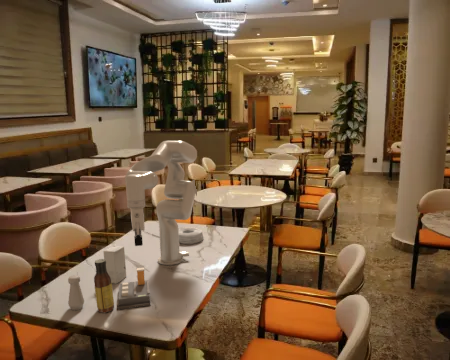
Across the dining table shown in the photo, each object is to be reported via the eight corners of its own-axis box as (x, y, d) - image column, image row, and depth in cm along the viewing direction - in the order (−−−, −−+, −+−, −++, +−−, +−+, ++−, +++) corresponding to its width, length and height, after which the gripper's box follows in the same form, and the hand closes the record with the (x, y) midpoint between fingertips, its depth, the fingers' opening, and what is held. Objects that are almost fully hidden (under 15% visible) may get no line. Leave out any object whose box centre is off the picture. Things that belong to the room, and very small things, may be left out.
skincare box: (116, 284, 173) (114, 252, 170) (105, 282, 175) (102, 250, 172) (127, 276, 181) (124, 245, 178) (115, 275, 183) (113, 244, 180)
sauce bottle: (116, 305, 154) (112, 257, 151) (112, 313, 148) (108, 263, 144) (99, 305, 154) (95, 257, 150) (94, 313, 148) (90, 264, 144)
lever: (144, 282, 167) (143, 267, 165) (145, 284, 164) (144, 269, 163) (137, 282, 166) (136, 268, 165) (137, 285, 164) (136, 270, 163)
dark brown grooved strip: (150, 303, 155) (150, 300, 155) (150, 305, 153) (150, 303, 153) (117, 307, 152) (117, 304, 152) (117, 310, 150) (117, 307, 150)
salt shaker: (71, 304, 155) (68, 273, 153) (86, 303, 156) (83, 272, 153) (66, 312, 149) (63, 280, 147) (82, 311, 150) (79, 279, 148)
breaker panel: (148, 286, 170) (148, 277, 169) (150, 302, 155) (149, 292, 155) (120, 290, 167) (119, 280, 166) (118, 306, 153) (118, 296, 152)
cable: (170, 238, 235) (169, 228, 234) (197, 233, 243) (196, 224, 242) (179, 246, 220) (178, 236, 219) (207, 242, 227) (207, 231, 226)
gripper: (145, 206, 159) (148, 250, 162) (144, 199, 173) (147, 239, 176) (126, 208, 157) (129, 251, 160) (127, 200, 171) (129, 240, 174)
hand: (138, 245), depth 168 cm, fingers closed
